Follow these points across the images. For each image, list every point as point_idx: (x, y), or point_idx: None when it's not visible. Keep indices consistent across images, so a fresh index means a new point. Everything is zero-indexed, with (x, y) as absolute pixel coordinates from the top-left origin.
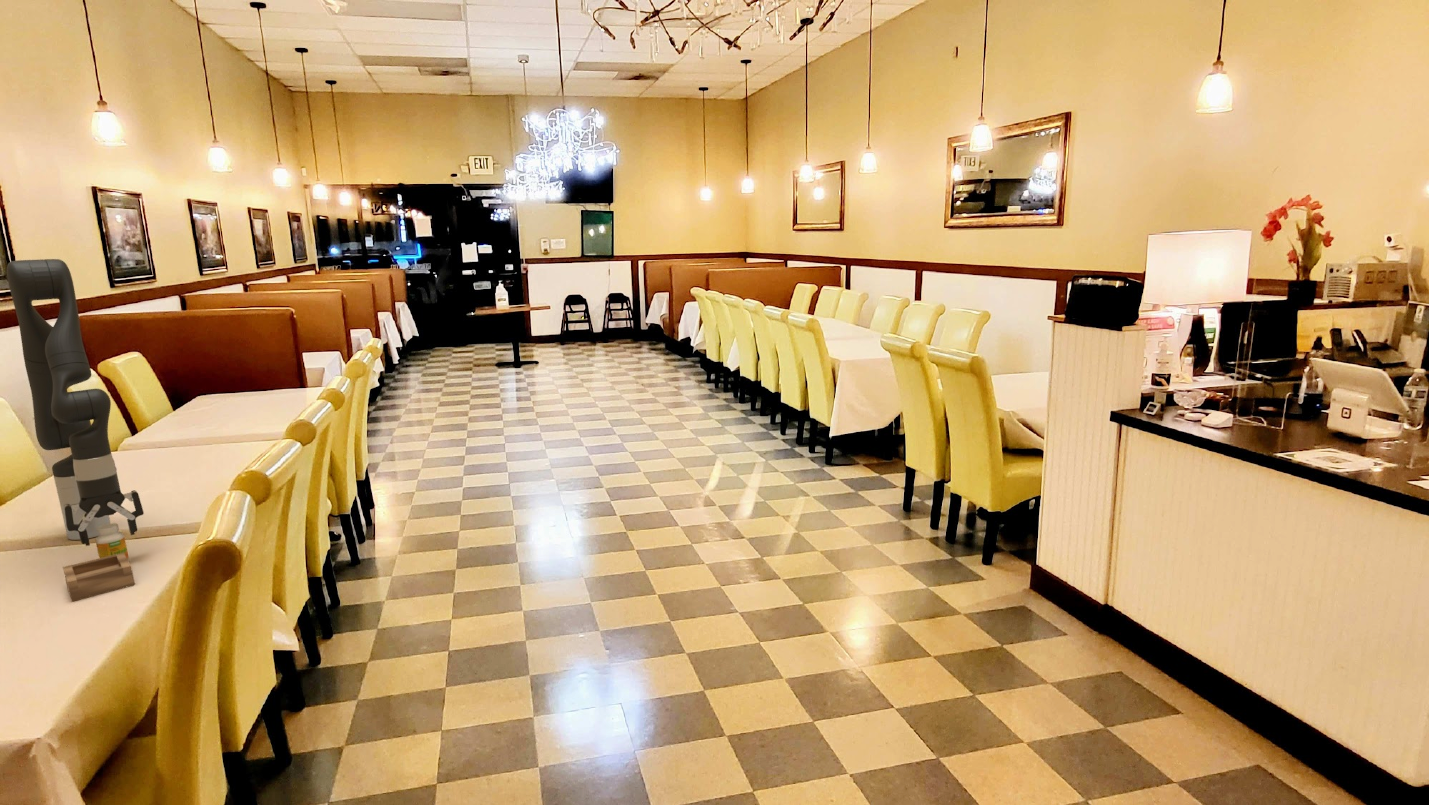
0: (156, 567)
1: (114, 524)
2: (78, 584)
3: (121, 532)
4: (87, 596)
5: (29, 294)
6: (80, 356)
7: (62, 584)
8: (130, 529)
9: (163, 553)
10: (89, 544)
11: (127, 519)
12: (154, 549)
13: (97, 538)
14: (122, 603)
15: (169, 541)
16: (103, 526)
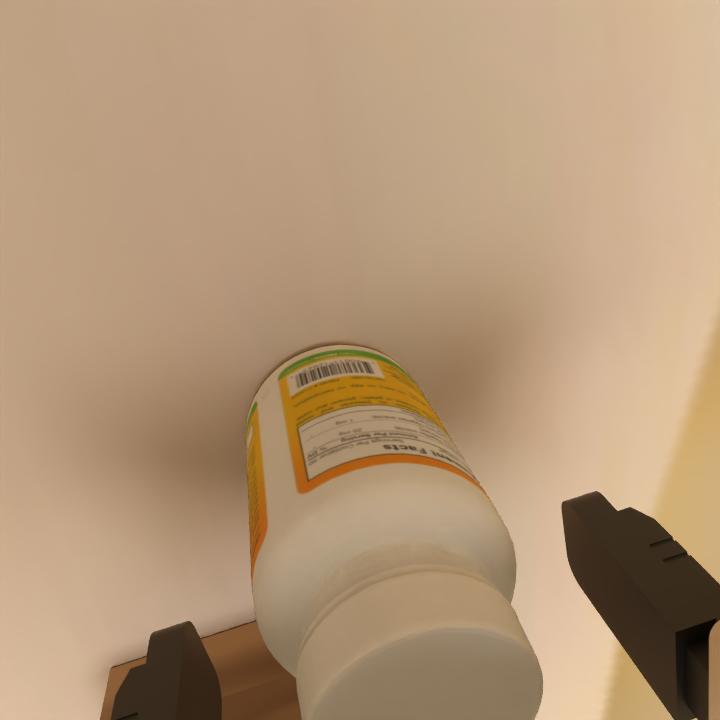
0: (569, 585)
1: (507, 682)
2: None
3: (508, 572)
4: None
5: None
6: None
7: (67, 636)
8: (611, 627)
9: (627, 359)
10: (218, 693)
11: (678, 652)
12: (583, 222)
13: (286, 662)
14: None
15: (704, 59)
16: (379, 708)
